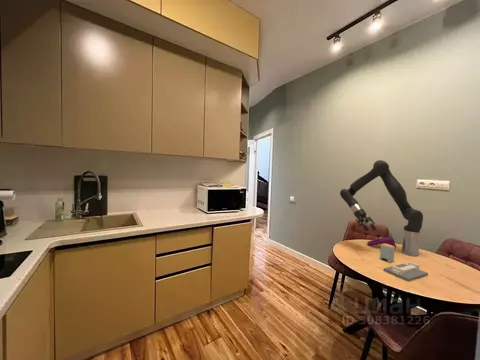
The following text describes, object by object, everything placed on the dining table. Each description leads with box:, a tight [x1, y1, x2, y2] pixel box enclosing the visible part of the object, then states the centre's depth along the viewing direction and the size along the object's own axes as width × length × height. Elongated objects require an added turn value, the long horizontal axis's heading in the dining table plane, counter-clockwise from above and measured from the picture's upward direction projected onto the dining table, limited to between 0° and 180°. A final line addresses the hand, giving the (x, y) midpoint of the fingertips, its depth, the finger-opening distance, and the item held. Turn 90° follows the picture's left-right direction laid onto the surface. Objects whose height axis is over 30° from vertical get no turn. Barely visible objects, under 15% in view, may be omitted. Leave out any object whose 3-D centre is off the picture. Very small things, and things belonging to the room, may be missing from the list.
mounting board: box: [383, 261, 429, 282], centre depth 126 cm, size 20×13×5 cm, turn 116°
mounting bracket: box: [367, 235, 397, 250], centre depth 171 cm, size 10×8×18 cm
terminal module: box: [379, 243, 396, 263], centre depth 144 cm, size 5×6×10 cm
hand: (371, 230), depth 154 cm, fingers open, 8 cm apart
